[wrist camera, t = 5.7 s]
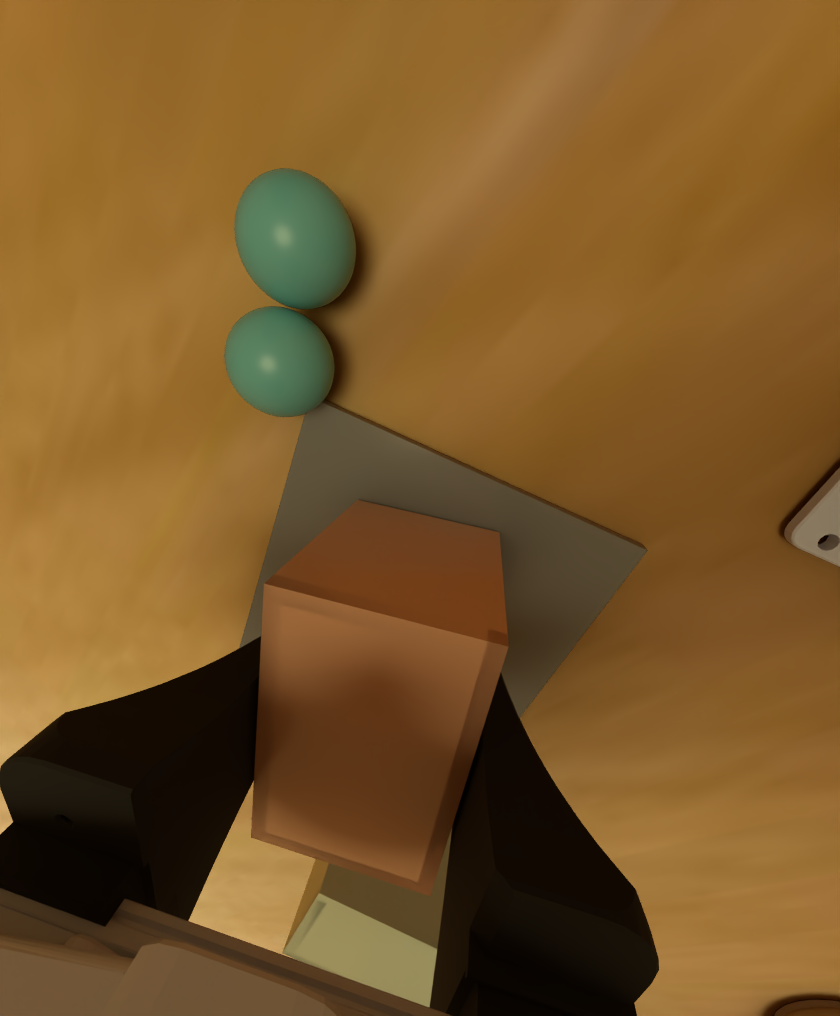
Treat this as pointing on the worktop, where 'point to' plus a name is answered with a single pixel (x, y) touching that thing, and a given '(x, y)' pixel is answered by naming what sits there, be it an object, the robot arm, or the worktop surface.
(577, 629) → the slate coaster
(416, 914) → the pale green square box
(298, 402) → the marble
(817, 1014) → the beer can
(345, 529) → the tall copper box
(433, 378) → the worktop surface
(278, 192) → the marble
